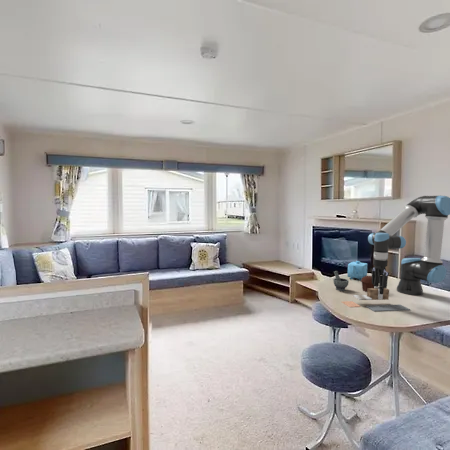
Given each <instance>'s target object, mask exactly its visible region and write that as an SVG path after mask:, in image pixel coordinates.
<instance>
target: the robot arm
mask: <svg viewBox="0 0 450 450" xmlns="http://www.w3.org/2000/svg"><path fill="white" fill-rule="evenodd" d="M420 215H425V216H424V217H425V218H426V219H427V222H426V223H427V225H426V233H425V235H426V236H425V242H424V243H425V244H424V254H423V257H422V258H420V257H404V258H402V260H401V263H400V279H399V281H398V285H397V286H396V291H397V292H398V293H400V294H406V295H409V296H410V295H412V296H423V293H424V290H423V286H422V283H421V281H425V282H428V283H432V284H440V283H441V282H443V281H444V280H445V278H446V276H447V268H446V266H444V265H443V263H444V262H443V260H442V259H441V256H442V255H441V254H442V244H443V237H444V229H445V228H444V227H445V221H446V220H447V219H448V218H449V216H450V197H449V196H446V195H421V196H419V197H416V198H415V199H413V200H411V201H409V203H407V204H406V205H405V206H404V207H403V209H402V211H400V212H399V213H398V214H397V215H395V217H393V218H392V219H391V220H390V221H388V223H386V224H385V225H384V226H383V227H381V228H380V229H379V230H378V231H376V232H372V233H370V234H369V235H368V236H367V241H368V243H369V244H370V245H373V246H374V248H373V260H372V261H373V263H372V265H373V266H374V267H371V268H370V269H371V276H372V284H373V285H374V288H378V299H383V291H384V289H385V288H387V287H388V281H389V279H388V278H389V275H390V272H389V271H387V269H386V268H387V267H388V263H389V261H388V259H389V250H390V249H392V250H394V249H395V250H396V249H398V250H399V249H403V248H404V247H406V244H407V241H406V238H405V237H404V236H403V235H395V234H396V233H397V232H398V231H400V230H401V229H402V228H403V227H404V226H405V225H406V224H408V223H410V221H411V220H412V219H413V218H417V217H418V216H420ZM387 289H388V288H387Z"/></svg>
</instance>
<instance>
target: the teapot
mask: <svg viewBox="0 0 450 450" xmlns="http://www.w3.org/2000/svg"><path fill="white" fill-rule="evenodd" d="M365 276H368V263H366V262H361V261H360V260H355V261H351V262H350V263H348V264H347V278H349V279H350V280H354V279H357V280H358V281H361V279H362V278H363V277H365Z"/></svg>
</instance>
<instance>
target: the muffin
mask: <svg viewBox="0 0 450 450" xmlns="http://www.w3.org/2000/svg"><path fill="white" fill-rule="evenodd" d="M360 282H361V289H362V291H363V292H366V293H367V289H368V288H374V285H373V284H372V275H367V276H365V277H363V278H362V279H361V280H360Z"/></svg>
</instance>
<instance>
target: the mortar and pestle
mask: <svg viewBox="0 0 450 450" xmlns="http://www.w3.org/2000/svg"><path fill="white" fill-rule="evenodd" d="M333 274H334V276H335V277H334V278H333V279H332V280H333V284H334V286H335V290H336V291H340V292H345V291H346V288H347V287H348V286H349V279H346V278H341V277H340V275H339V271H338V270H335V271H333Z"/></svg>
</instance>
